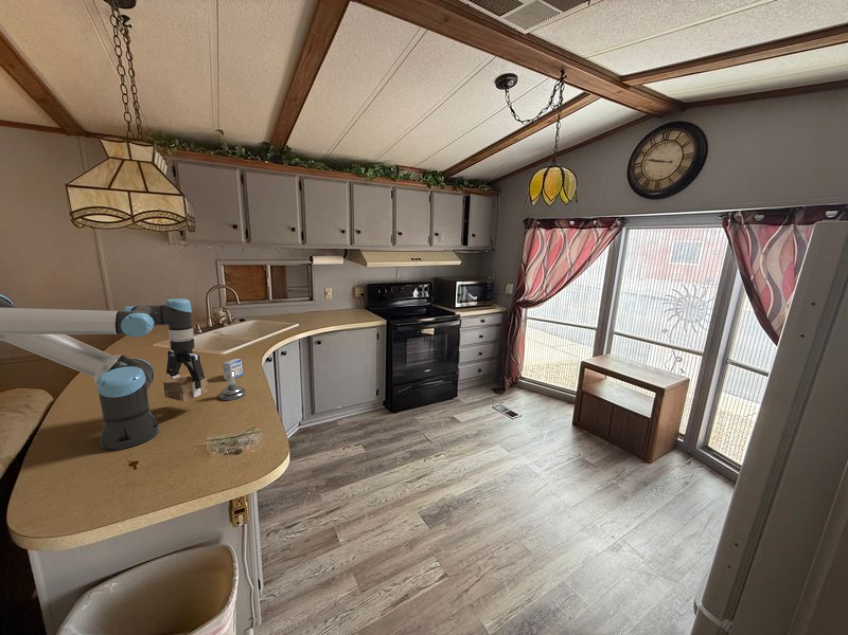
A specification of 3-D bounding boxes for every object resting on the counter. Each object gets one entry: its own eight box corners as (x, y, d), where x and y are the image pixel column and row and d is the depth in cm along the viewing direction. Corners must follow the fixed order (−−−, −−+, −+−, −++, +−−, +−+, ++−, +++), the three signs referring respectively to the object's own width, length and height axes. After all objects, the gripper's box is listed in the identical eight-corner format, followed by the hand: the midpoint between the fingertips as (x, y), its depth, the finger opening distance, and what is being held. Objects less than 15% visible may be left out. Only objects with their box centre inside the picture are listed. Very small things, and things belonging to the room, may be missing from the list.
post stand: (231, 402, 140) (229, 377, 138) (213, 398, 143) (211, 374, 141) (250, 392, 149) (248, 369, 147) (233, 389, 152) (231, 366, 150)
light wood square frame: (183, 401, 125) (182, 386, 124) (164, 396, 128) (163, 382, 127) (208, 391, 134) (207, 377, 133) (190, 387, 137) (188, 373, 136)
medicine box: (231, 380, 162) (230, 363, 160) (223, 379, 163) (222, 363, 161) (243, 374, 170) (241, 358, 168) (235, 374, 171) (234, 358, 169)
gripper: (213, 340, 127) (217, 394, 131) (170, 333, 133) (176, 385, 138) (194, 345, 120) (199, 402, 124) (150, 337, 126) (156, 392, 131)
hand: (187, 393), depth 131 cm, fingers closed on light wood square frame, 10 cm apart
